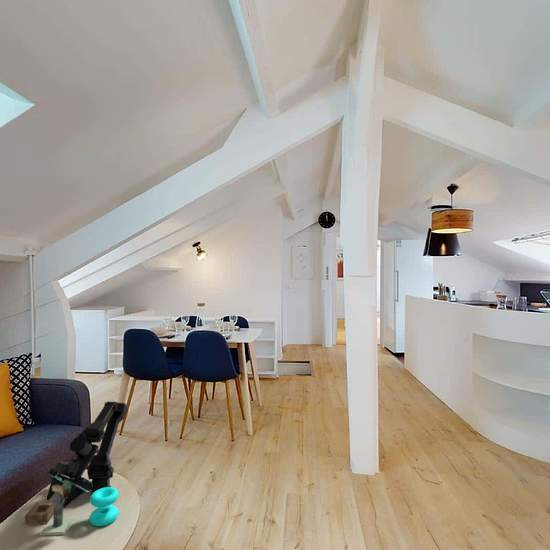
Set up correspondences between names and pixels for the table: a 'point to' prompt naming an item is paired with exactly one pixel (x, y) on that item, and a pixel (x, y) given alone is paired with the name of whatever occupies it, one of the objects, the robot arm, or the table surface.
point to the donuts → (104, 506)
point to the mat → (57, 530)
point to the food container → (67, 486)
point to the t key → (58, 504)
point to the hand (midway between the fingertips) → (54, 503)
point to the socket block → (40, 513)
